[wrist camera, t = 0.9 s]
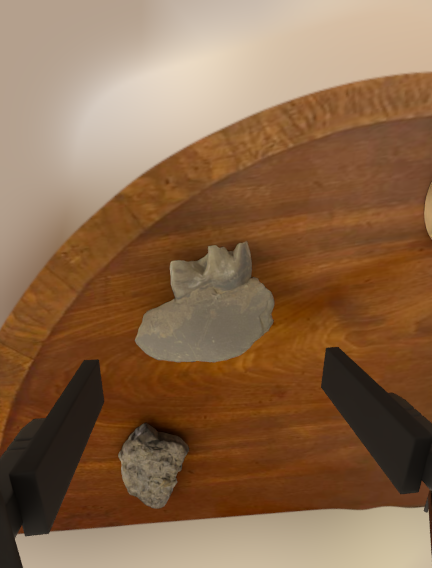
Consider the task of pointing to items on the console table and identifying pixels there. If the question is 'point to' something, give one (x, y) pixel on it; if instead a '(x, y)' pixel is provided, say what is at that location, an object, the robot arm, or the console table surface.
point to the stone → (152, 464)
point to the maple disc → (428, 211)
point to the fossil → (209, 310)
